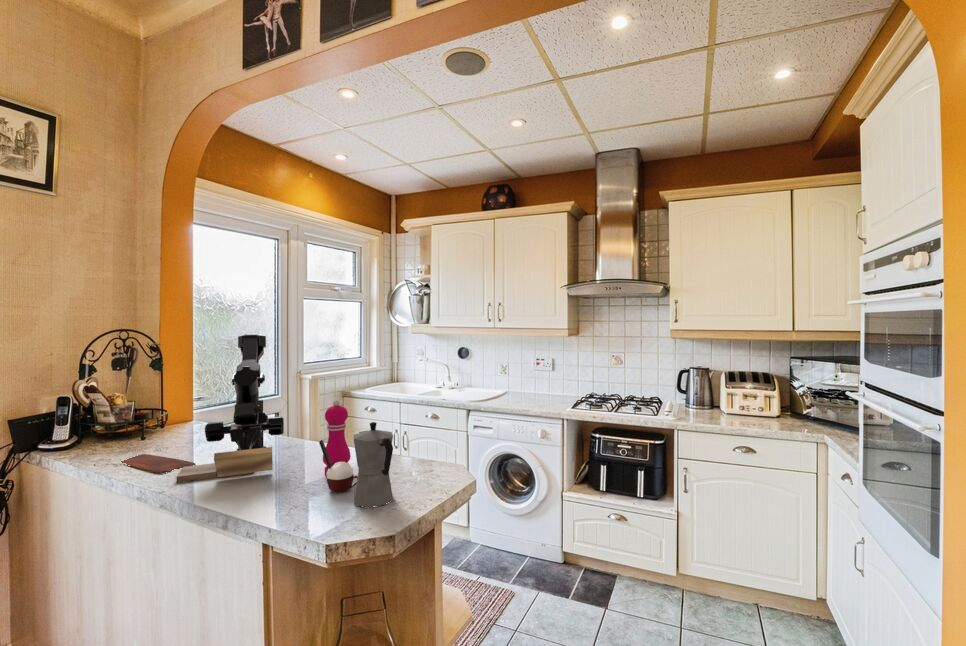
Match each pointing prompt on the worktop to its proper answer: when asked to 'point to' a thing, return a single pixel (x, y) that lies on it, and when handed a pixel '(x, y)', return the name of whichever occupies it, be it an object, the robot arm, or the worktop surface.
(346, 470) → the cocoa
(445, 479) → the worktop surface
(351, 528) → the worktop surface
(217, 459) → the oak plank
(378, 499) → the coffeepot
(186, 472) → the weathered wooden board
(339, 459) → the pepper mill
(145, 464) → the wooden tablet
